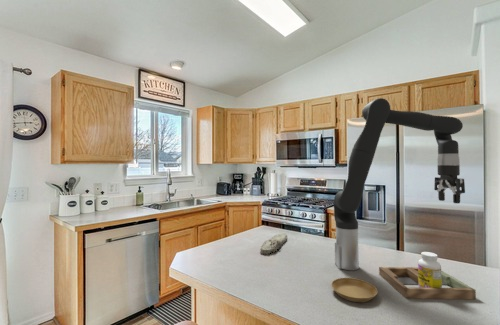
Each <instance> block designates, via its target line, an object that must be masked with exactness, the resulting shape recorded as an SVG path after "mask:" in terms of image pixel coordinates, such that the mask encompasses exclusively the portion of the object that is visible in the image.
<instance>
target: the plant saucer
mask: <svg viewBox="0 0 500 325" xmlns="http://www.w3.org/2000/svg"><path fill="white" fill-rule="evenodd" d="M330 286H331V288H332V289H333V290H334V291H335V293H336V294H337V295H338V296H339V297H341V298H342V299H345V301H349V302H354V303H365V302H369V301H370V300H371V301H372V299H374V298H375V297H376V295H378V289H377V287H376V286H375V285H374V284H372V283H371V282H368V281H366V280H363V279H359V278H354V277H339V278H336V279H334V280H332V281H331V285H330Z"/></svg>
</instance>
